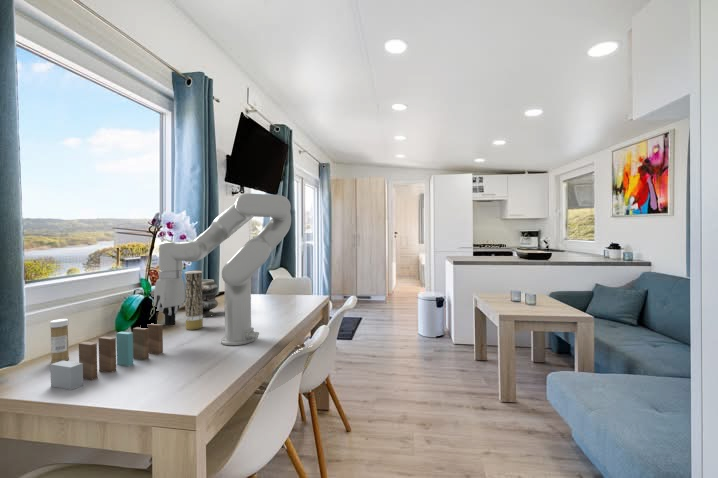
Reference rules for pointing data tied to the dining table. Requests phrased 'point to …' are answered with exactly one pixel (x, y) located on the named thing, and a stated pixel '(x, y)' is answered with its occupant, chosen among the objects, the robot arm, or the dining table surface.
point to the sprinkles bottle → (59, 340)
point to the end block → (66, 375)
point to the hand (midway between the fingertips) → (170, 325)
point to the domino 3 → (124, 348)
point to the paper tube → (193, 300)
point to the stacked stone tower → (208, 297)
